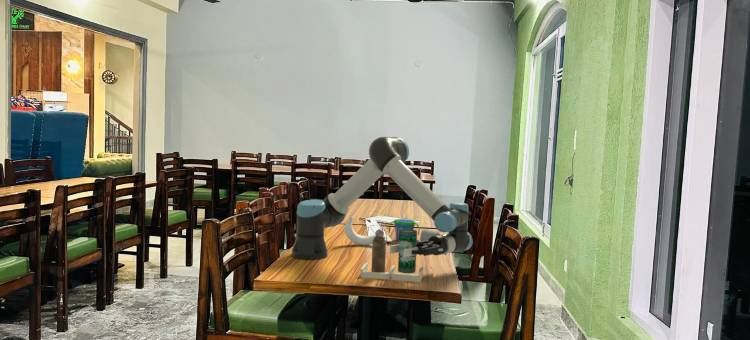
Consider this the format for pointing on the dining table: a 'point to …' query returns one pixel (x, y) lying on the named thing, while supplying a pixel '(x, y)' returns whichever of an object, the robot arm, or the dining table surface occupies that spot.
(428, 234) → the ceramic mug
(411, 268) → the can
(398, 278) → the caddy
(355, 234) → the white curved horn
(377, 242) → the pepper mill
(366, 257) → the dining table surface
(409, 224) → the snack cup
